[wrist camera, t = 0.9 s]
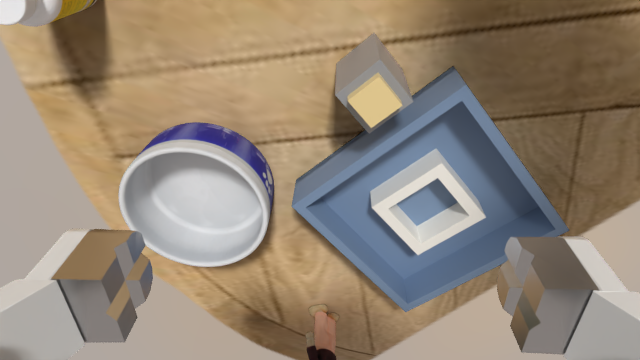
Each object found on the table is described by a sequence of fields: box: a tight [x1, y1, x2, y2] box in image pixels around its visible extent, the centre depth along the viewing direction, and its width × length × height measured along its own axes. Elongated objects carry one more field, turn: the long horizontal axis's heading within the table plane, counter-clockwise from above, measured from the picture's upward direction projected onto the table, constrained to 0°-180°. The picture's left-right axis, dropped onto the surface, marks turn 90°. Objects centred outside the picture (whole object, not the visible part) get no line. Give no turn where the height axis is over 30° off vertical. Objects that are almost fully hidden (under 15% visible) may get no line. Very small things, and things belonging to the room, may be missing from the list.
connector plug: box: [335, 33, 414, 133], centre depth 37 cm, size 4×4×9 cm
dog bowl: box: [119, 123, 274, 267], centre depth 46 cm, size 15×15×6 cm
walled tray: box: [292, 66, 569, 312], centre depth 46 cm, size 20×20×5 cm
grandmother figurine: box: [306, 304, 339, 360], centre depth 54 cm, size 8×4×13 cm, turn 50°
